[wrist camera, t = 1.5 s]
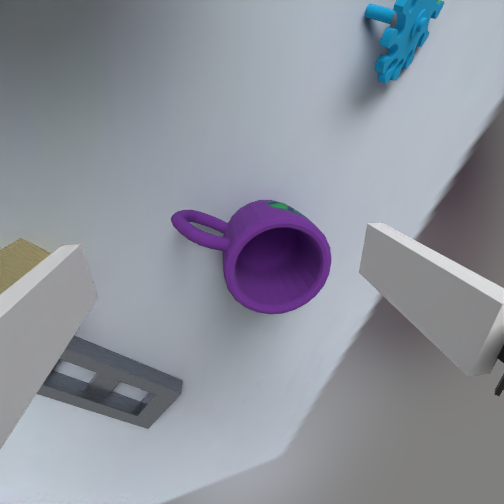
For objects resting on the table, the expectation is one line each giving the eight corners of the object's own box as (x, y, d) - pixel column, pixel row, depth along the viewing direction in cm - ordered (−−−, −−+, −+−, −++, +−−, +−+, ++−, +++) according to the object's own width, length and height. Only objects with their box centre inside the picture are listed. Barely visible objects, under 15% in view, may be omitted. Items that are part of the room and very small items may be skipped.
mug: (317, 212, 36) (354, 240, 27) (280, 281, 39) (301, 326, 30) (192, 159, 31) (185, 171, 22) (163, 244, 34) (147, 284, 25)
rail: (-50, 346, 36) (-67, 361, 33) (-22, 296, 33) (-38, 308, 31) (150, 414, 47) (148, 428, 45) (182, 380, 45) (180, 393, 42)
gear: (384, 106, 30) (394, 22, 21) (339, 88, 32) (331, 4, 23) (451, 19, 28) (494, -113, 19) (400, 6, 31) (417, -117, 22)
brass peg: (5, 265, 32) (-73, 318, 23) (20, 238, 31) (-54, 281, 22) (43, 283, 34) (-15, 338, 25) (60, 258, 33) (4, 306, 24)
